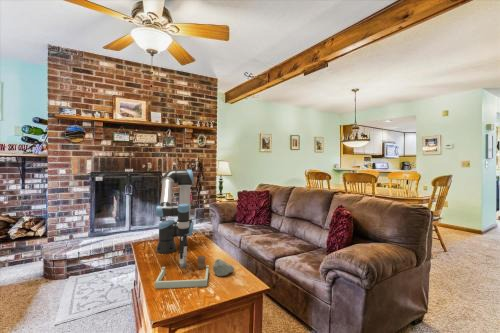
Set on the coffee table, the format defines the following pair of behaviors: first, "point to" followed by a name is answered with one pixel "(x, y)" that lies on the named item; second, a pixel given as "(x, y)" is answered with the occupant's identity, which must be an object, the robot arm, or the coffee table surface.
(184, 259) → the metal cylinder
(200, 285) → the bay
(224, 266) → the decorative stone
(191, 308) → the coffee table surface
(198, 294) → the coffee table surface
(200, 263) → the walnut block
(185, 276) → the coffee table surface
